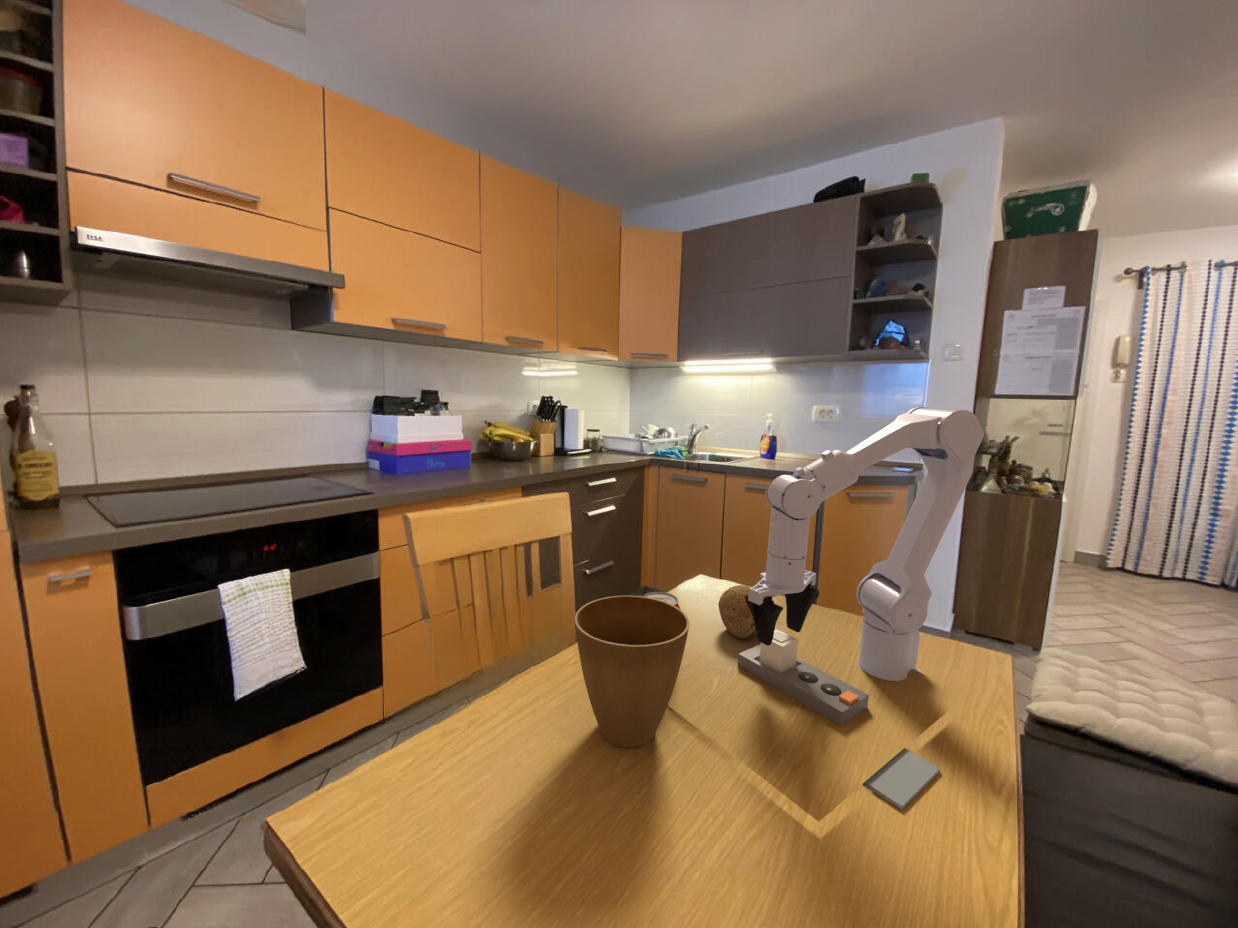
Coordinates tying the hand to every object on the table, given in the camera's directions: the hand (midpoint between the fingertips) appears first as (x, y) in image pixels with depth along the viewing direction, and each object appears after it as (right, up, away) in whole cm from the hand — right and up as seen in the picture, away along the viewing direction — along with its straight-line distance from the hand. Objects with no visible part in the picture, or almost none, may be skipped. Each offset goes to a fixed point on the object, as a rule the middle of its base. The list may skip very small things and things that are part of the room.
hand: (779, 635), depth 80 cm
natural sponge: (-2, -5, +14) cm, 15 cm away
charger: (0, -6, +1) cm, 6 cm away
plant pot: (-24, -9, -12) cm, 28 cm away
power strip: (+2, -8, -2) cm, 8 cm away
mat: (+7, -10, -17) cm, 21 cm away
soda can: (-19, -7, +3) cm, 20 cm away
